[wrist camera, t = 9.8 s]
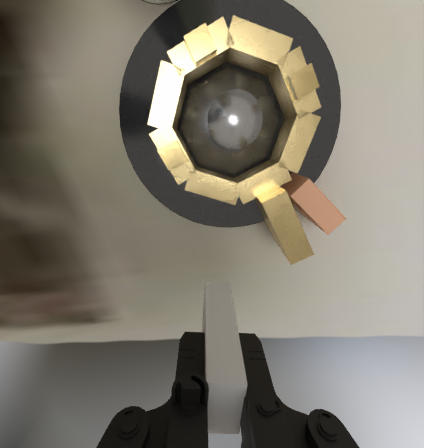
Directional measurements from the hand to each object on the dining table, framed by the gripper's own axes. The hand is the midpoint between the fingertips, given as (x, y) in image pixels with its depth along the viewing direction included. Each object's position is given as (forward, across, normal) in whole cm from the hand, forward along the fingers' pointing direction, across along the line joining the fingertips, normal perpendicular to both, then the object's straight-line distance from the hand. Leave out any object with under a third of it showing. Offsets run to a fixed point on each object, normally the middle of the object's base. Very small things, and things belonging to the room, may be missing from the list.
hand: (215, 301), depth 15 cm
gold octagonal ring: (+16, +3, +8) cm, 18 cm away
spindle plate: (+18, +2, +11) cm, 21 cm away
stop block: (+18, +11, +4) cm, 21 cm away
